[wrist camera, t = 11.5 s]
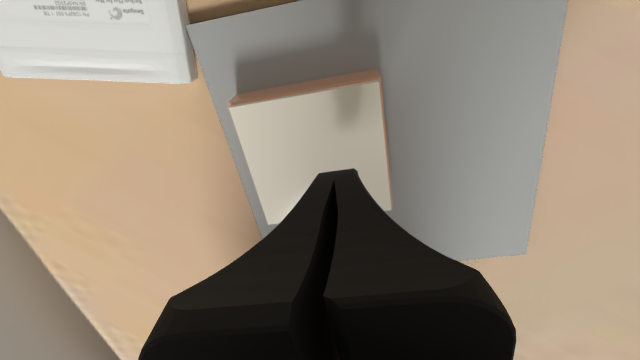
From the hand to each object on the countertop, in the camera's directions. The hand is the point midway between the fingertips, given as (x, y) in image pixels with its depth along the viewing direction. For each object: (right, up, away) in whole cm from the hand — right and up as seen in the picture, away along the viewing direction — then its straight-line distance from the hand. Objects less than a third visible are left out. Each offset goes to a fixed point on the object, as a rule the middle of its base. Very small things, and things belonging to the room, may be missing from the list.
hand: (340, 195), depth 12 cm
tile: (+2, +2, +3) cm, 4 cm away
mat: (+2, +2, +4) cm, 5 cm away
